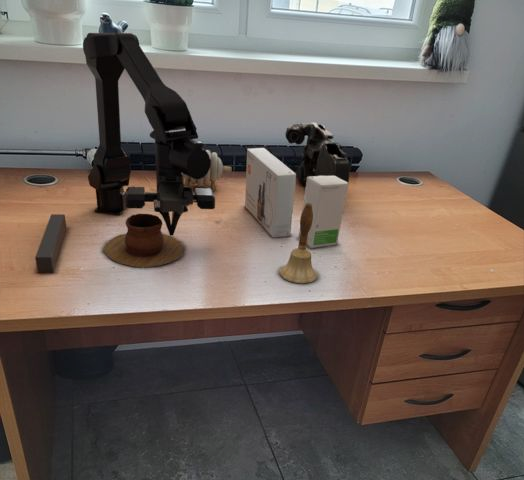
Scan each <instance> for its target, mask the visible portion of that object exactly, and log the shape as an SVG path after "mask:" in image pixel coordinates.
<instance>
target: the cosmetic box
mask: <svg viewBox="0 0 524 480" xmlns="http://www.w3.org/2000/svg"><path fill="white" fill-rule="evenodd" d="M348 189H349V183H348V182H346V181H344V180H342V179H340V178H338V177H336V176H310V177H307V182H306V186H305V190H304V198H303V203H302V211H303V209H304V208H305V205H306V204H307V203H309V204H312V211H313V221H312V226H311V228H310V230H309V232H308V237H307V245H306V247H309V248H310V249H315V248H321V247H330V246H336V245H337V246H338V242H339V237H340V230H341V226H342V222H343V221H342V220H343V215H344V210H345V204H346V199H347V194H348ZM302 211H301V212H302ZM298 230H299V231H298V237H297V238H298V240H300V235H301V229H300V228H299V229H298Z"/></svg>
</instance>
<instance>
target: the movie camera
mask: <svg viewBox="0 0 524 480" xmlns="http://www.w3.org/2000/svg"><path fill="white" fill-rule="evenodd" d="M285 138H286V141H287V143H288V144H291V145H292V144H296V145H302V144H304V141H305V139H306V145H303V146H302V149H303V150H302V152H301V160H302V161H301V163H300V165H298V166H297V167H296V170H295V174H296V180H297V181H298V182H301V184H302V185H303V186H304V187H306V182H307V177H310V176H336V177H338V178H340V179H342V180H344V181H346V182H348V183H349V182H350V161H349V159H348V156H347V155H348V154H347V153H346V152H345V151H343V147H342V144H340V143H339V142H335V141H332V139H333V140H334V134H332V133H331V132H330V131H329V130H327V128H326V127H325V126H324V125H323V124H321V123H317V122H309V123H307V122H306V123H305V122H299V123H298V122H297V123H294V124H291V125H289V126H288V127H287V128H286V131H285Z"/></svg>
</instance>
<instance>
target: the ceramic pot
mask: <svg viewBox="0 0 524 480" xmlns="http://www.w3.org/2000/svg"><path fill="white" fill-rule="evenodd" d="M125 226H126V228H127V231H126V233H122V234H119V235H117V236H114V237H113V238H112V239H109V240H108V242H106V244H104V247H103V252H104V253H105V254H106V255H107V258H109V259H110V260H112V261H115V262H116V263H119V264H122V265H126V266H131V267H134V268H135V267H137V268H145V267H146V268H151V267H156V266H157V267H158V266H161V265H165V264H169V263H173V262H174V261H176V260H179V259H180V258H181V257H183V254H184V250H185V247H184V245H183V244H182V242H181V241H180V240H177V239H176V238H175V237H173V236H170V235H167V234H163V232H162V228H163V220H162V219H161V218H160V217H159V216H158V215H155V214H151V213H136V214H132V215H130V216H129V217H127V218H126V220H125Z"/></svg>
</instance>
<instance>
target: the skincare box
mask: <svg viewBox="0 0 524 480" xmlns="http://www.w3.org/2000/svg"><path fill="white" fill-rule="evenodd" d="M296 180H297V178H296V172H294V171H293V170H292V169H291V168H290V167H288V166H287V165H286V164H284V163H283V162H282V161H281V160H280V159H279V158H277V157H276V156H275V155H273V154H272V153H271V152H270V151H269V150H268V149H266V148H265V147H254V148H253V147H252V148H247V149H246V172H245V193H244V194H245V195H244V196H245V197H244V198H245V199H244V206H245V208H246V209H247V210H248V211H249V213H251V215H252V216H253V218H255V219H256V221H258V222H259V224H260V225H261V226H262V227H263V228H264V229H265V231H267V233H269V235H270V236H271V237H272V238H281V237H290V236H291V233H292V224H293V223H292V222H293V214H294V202H295V201H294V200H295V191H296Z"/></svg>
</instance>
